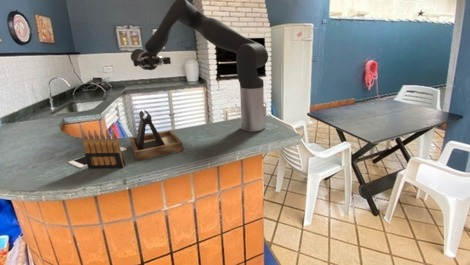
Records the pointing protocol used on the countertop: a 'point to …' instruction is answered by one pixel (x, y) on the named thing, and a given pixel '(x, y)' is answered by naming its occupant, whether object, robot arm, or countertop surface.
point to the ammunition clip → (103, 151)
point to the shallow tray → (170, 146)
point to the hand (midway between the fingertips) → (155, 62)
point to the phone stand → (141, 133)
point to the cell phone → (84, 160)
